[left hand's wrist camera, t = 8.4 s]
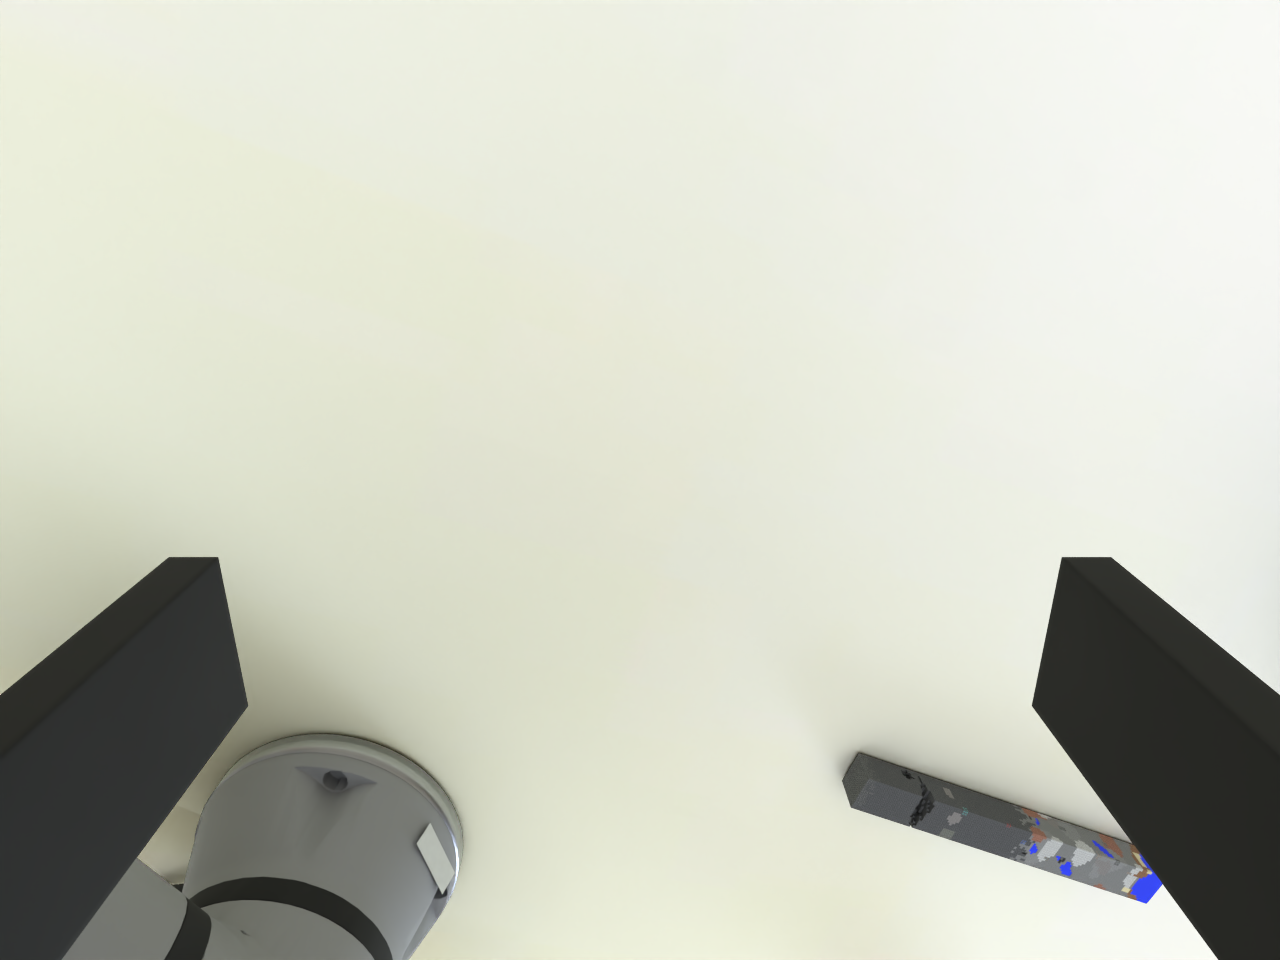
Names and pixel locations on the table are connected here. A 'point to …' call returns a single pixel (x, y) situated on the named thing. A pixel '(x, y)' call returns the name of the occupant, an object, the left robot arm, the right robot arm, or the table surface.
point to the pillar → (998, 828)
